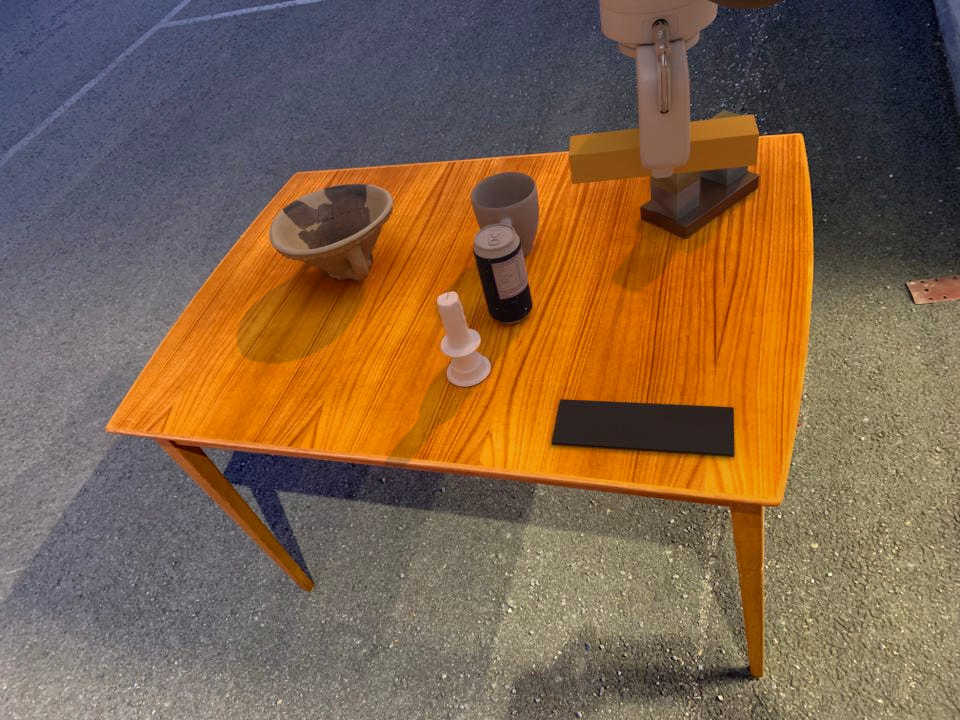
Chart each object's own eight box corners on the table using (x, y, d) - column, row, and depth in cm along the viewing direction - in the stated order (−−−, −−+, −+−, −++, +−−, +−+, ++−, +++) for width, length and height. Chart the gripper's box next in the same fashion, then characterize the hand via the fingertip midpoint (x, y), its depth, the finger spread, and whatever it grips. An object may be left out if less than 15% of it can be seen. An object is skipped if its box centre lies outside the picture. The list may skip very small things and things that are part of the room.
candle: (466, 349, 86) (443, 273, 77) (499, 364, 83) (480, 287, 74) (438, 377, 83) (411, 302, 75) (471, 393, 80) (448, 317, 72)
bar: (756, 165, 60) (759, 133, 58) (572, 184, 64) (568, 155, 62) (751, 145, 63) (753, 113, 61) (573, 164, 66) (570, 135, 64)
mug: (484, 234, 102) (471, 177, 95) (544, 225, 101) (534, 166, 94) (482, 286, 94) (468, 227, 87) (548, 277, 92) (538, 217, 85)
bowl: (428, 268, 99) (410, 211, 92) (311, 323, 95) (284, 268, 89) (384, 216, 111) (366, 162, 104) (279, 262, 107) (254, 210, 101)
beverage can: (534, 296, 90) (520, 219, 82) (532, 326, 86) (517, 248, 78) (491, 299, 91) (473, 224, 83) (487, 329, 87) (468, 253, 79)
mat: (733, 409, 71) (733, 406, 71) (734, 456, 67) (734, 454, 67) (560, 401, 77) (559, 398, 76) (551, 444, 73) (551, 442, 73)
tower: (758, 187, 97) (765, 120, 90) (685, 239, 92) (686, 173, 85) (711, 170, 102) (714, 105, 95) (640, 218, 97) (637, 154, 90)
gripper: (713, 47, 46) (707, 222, 55) (690, -51, 59) (689, 102, 69) (615, 61, 47) (626, 229, 57) (615, -38, 61) (624, 110, 71)
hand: (660, 159), depth 63 cm, fingers closed on bar, 3 cm apart
